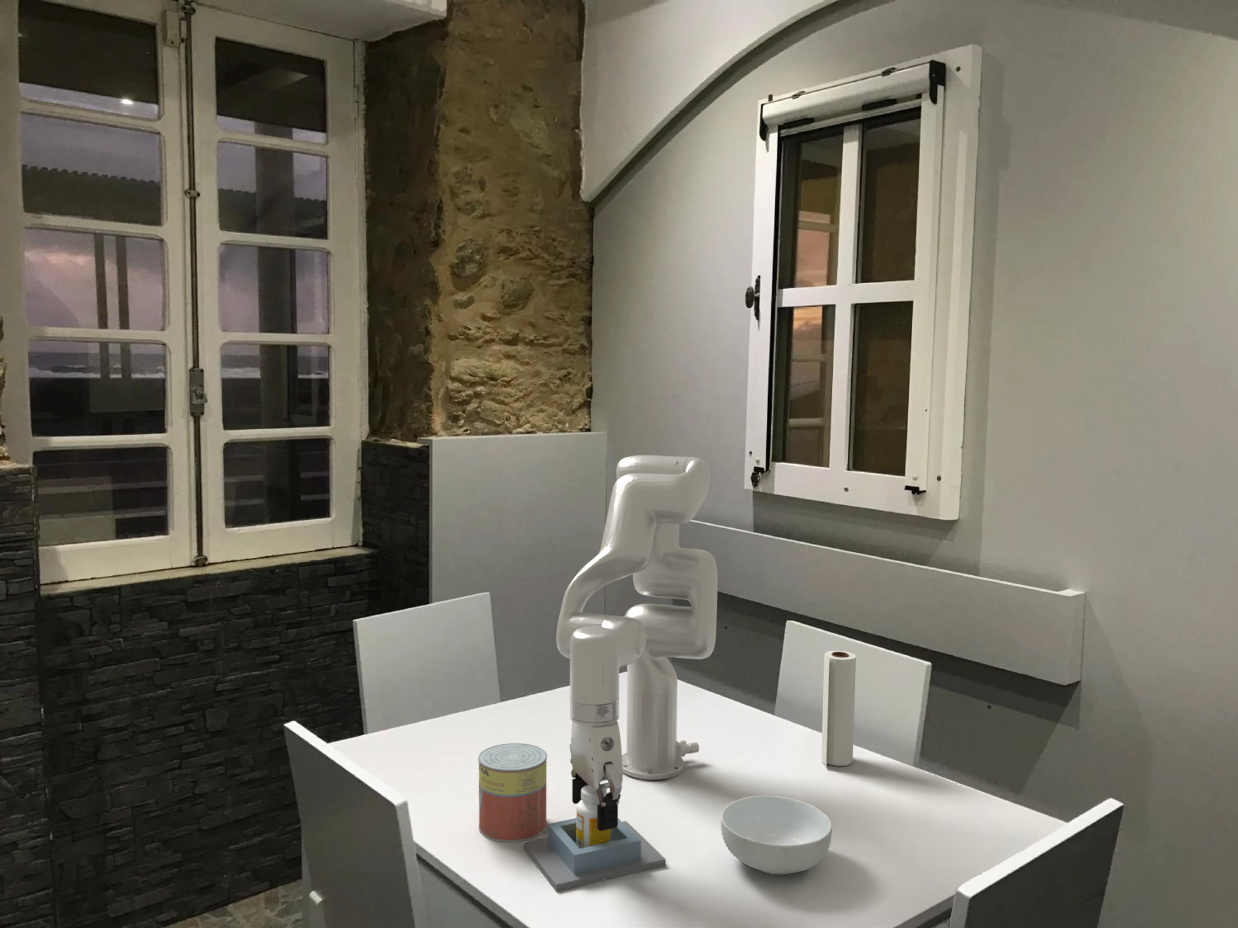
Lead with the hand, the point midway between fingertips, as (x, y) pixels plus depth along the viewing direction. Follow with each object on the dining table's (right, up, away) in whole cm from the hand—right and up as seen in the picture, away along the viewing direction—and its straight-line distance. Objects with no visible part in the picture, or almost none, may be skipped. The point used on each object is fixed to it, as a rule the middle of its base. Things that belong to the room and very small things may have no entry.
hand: (594, 814), depth 150 cm
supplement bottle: (0, -6, +1) cm, 6 cm away
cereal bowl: (+28, -7, -1) cm, 29 cm away
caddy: (0, -7, 0) cm, 7 cm away
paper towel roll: (+46, -4, +38) cm, 60 cm away
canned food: (-14, -6, +10) cm, 18 cm away
